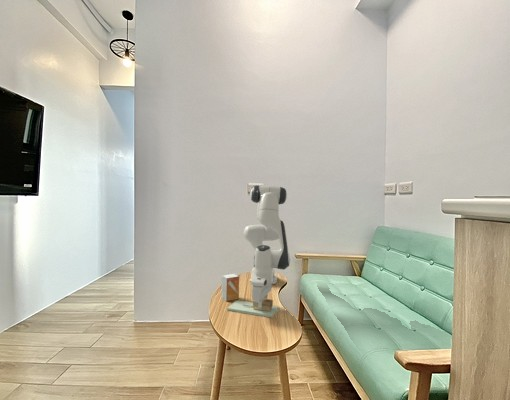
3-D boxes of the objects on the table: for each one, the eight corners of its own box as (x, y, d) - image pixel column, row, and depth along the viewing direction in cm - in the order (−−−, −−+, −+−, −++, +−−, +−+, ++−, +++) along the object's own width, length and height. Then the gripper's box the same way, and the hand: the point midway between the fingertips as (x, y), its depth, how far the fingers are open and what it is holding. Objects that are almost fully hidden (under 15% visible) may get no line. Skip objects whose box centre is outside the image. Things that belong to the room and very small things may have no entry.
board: (236, 302, 161) (236, 299, 161) (279, 308, 153) (279, 306, 153) (227, 310, 150) (227, 307, 150) (272, 317, 142) (272, 315, 142)
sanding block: (256, 305, 154) (256, 297, 154) (272, 307, 151) (272, 299, 151) (252, 308, 149) (252, 300, 149) (269, 311, 146) (269, 303, 146)
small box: (226, 301, 162) (226, 278, 162) (221, 298, 168) (221, 275, 167) (239, 298, 167) (239, 276, 167) (233, 295, 172) (233, 273, 172)
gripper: (263, 272, 160) (263, 297, 161) (249, 282, 141) (249, 311, 141) (274, 273, 158) (274, 298, 158) (262, 284, 139) (262, 313, 139)
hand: (262, 304), depth 150 cm, fingers closed on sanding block, 5 cm apart
